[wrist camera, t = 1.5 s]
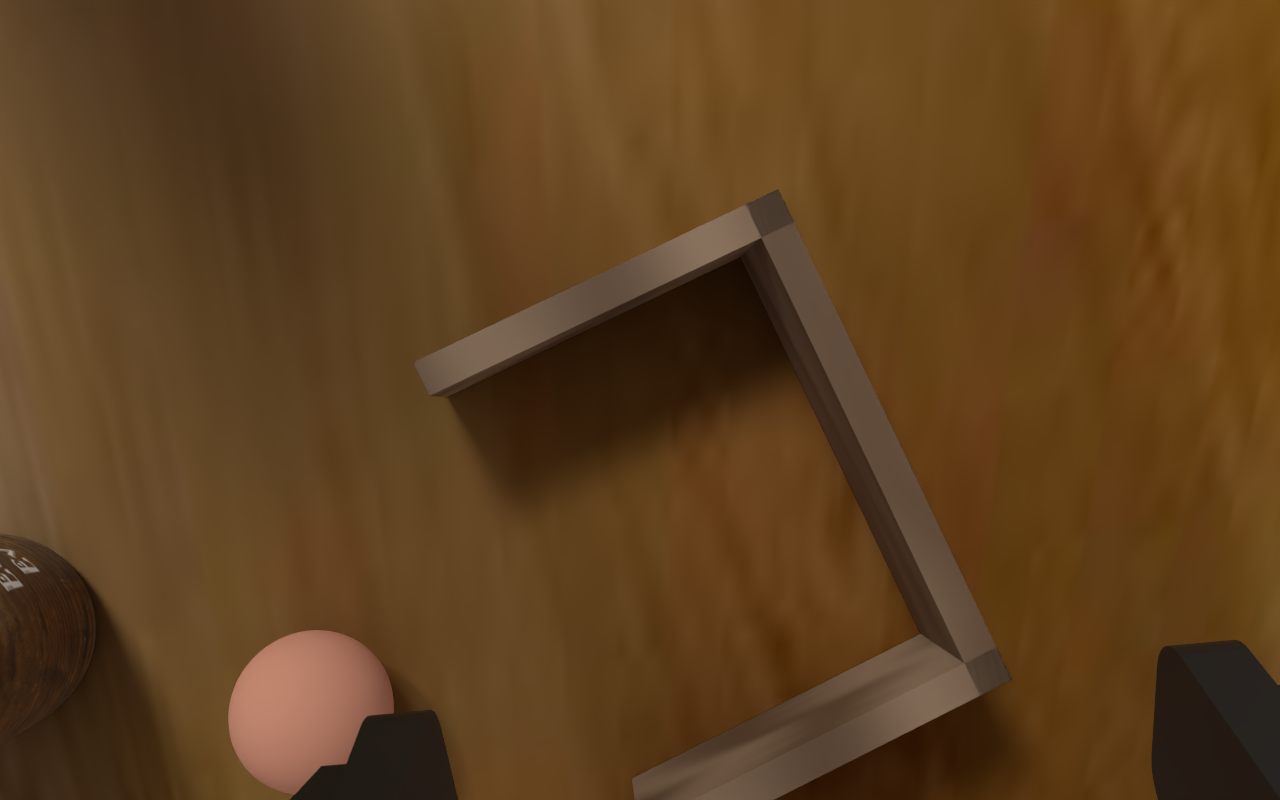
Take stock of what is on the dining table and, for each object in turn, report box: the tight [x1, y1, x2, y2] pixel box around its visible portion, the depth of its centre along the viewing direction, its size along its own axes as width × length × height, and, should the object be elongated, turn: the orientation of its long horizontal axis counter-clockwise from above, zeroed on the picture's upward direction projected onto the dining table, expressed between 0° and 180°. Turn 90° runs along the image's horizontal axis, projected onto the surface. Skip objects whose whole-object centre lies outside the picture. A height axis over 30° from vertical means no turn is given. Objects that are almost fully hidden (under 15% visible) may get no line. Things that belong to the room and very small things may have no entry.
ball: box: [228, 630, 394, 794], centre depth 32 cm, size 4×4×4 cm
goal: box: [413, 190, 1012, 800], centre depth 33 cm, size 11×15×4 cm
